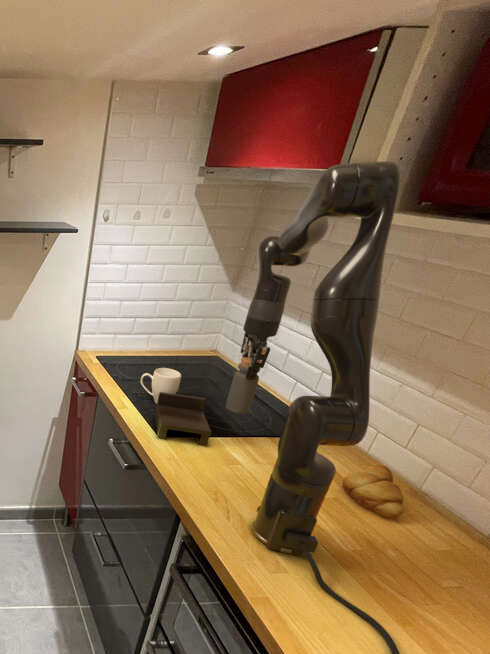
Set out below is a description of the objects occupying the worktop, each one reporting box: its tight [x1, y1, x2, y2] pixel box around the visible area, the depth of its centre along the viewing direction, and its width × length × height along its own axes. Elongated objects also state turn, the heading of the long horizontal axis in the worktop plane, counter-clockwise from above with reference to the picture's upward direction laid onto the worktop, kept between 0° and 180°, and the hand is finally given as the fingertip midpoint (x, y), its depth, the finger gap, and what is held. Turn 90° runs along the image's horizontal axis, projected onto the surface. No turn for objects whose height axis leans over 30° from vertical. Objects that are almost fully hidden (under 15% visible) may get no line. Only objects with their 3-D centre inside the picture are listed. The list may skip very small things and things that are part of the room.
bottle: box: [225, 357, 261, 415], centre depth 123 cm, size 6×6×15 cm
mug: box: [140, 367, 182, 405], centre depth 151 cm, size 12×8×11 cm
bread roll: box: [342, 464, 405, 519], centre depth 105 cm, size 13×10×8 cm
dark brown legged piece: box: [153, 392, 212, 447], centre depth 133 cm, size 14×13×9 cm
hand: (246, 374), depth 122 cm, fingers closed on bottle, 5 cm apart
